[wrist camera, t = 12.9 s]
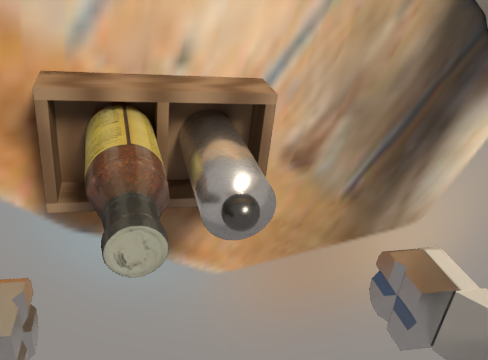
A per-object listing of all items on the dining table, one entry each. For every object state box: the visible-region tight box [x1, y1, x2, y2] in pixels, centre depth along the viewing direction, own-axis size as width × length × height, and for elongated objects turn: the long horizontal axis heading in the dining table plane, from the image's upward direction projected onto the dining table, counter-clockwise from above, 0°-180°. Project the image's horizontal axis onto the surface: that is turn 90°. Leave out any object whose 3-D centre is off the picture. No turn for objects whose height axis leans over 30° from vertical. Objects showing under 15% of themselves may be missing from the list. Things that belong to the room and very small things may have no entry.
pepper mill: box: [178, 109, 276, 240], centre depth 40 cm, size 6×6×16 cm
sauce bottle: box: [85, 102, 170, 277], centre depth 36 cm, size 7×6×20 cm
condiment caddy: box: [33, 71, 278, 213], centre depth 44 cm, size 21×12×5 cm, turn 84°
